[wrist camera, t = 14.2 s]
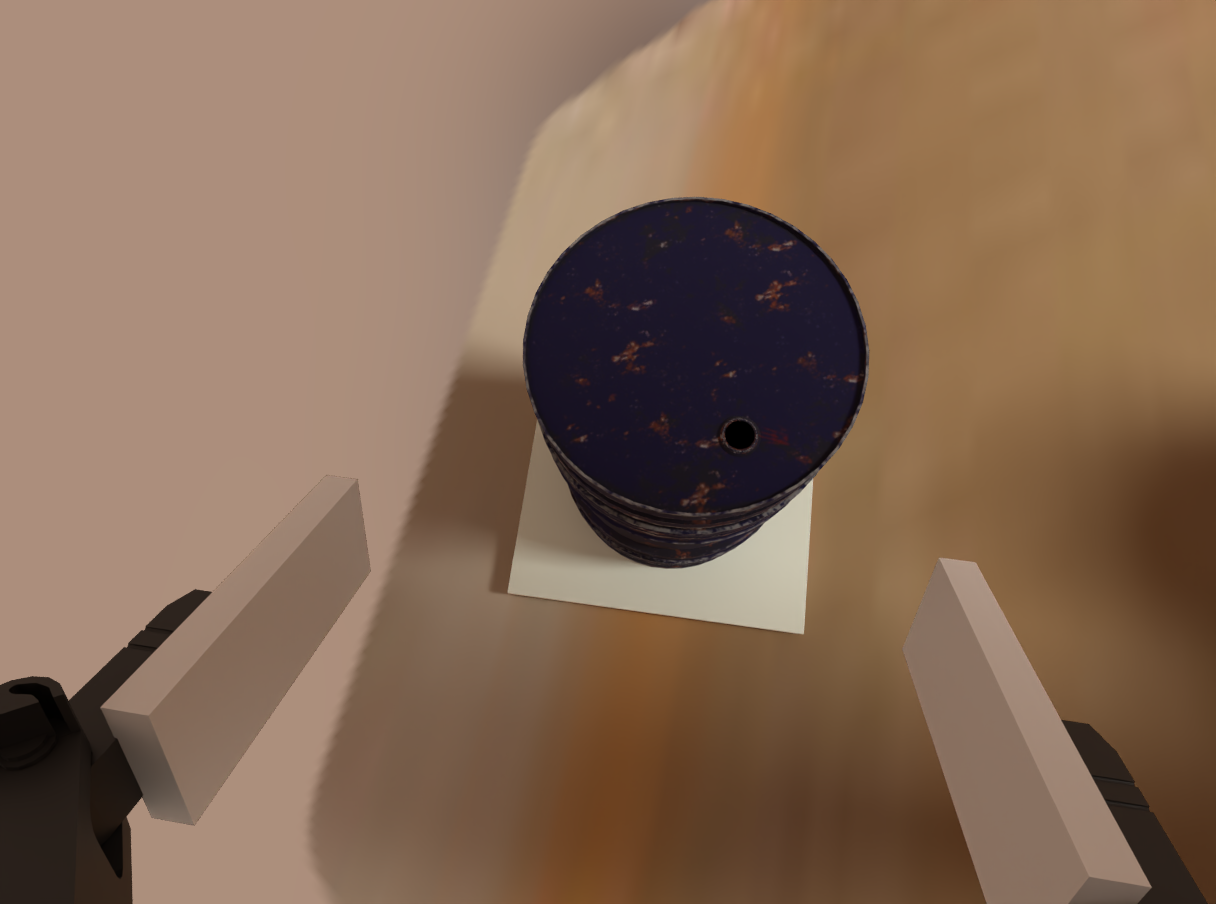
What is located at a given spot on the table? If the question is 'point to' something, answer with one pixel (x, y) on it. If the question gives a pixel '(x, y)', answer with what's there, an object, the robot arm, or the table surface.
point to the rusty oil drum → (692, 373)
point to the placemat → (597, 575)
